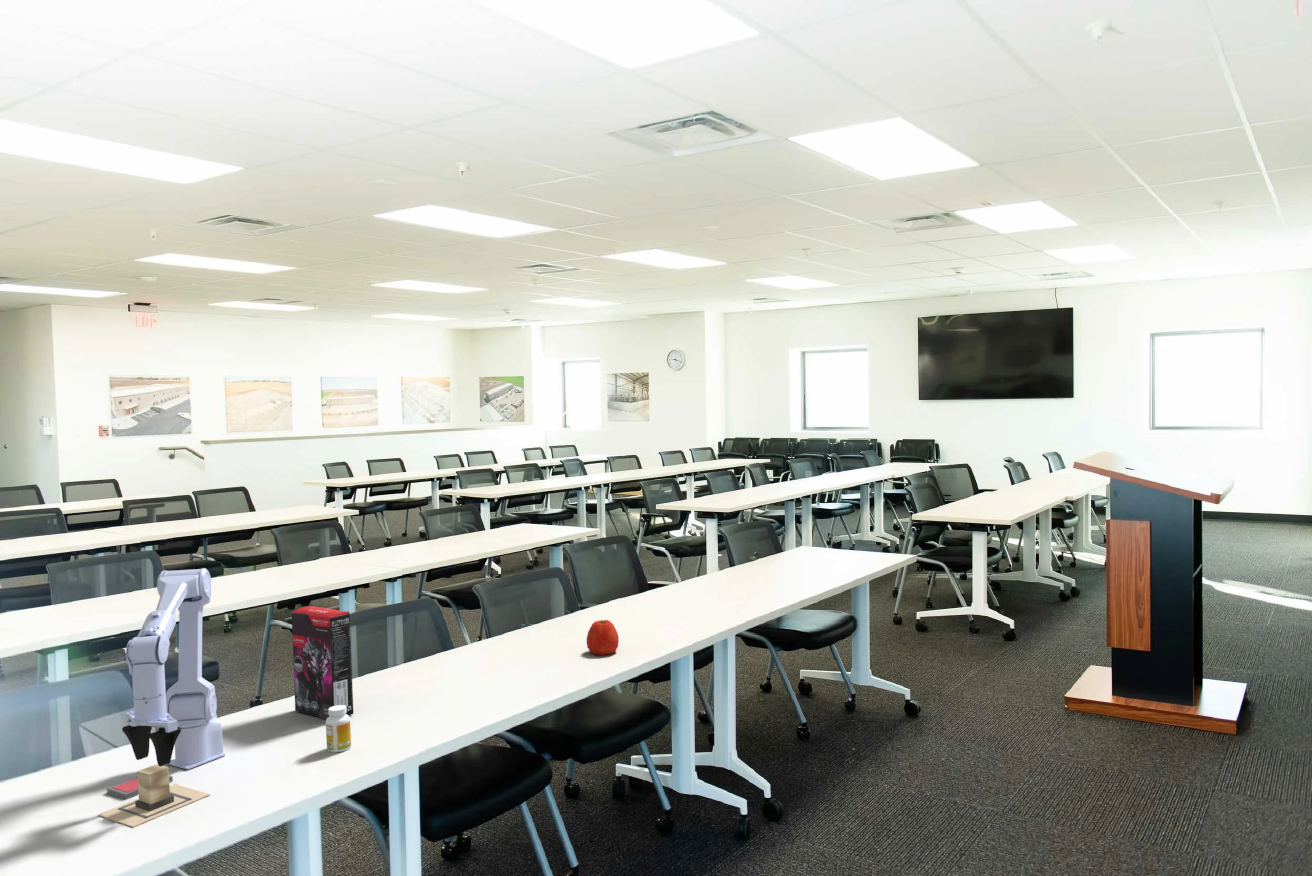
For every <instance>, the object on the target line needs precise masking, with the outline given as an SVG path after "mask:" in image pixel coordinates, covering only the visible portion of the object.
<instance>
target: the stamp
mask: <svg viewBox="0 0 1312 876" xmlns="http://www.w3.org/2000/svg"><path fill="white" fill-rule="evenodd" d="M169 776H170V772H169V767H168V766H166V765H164V766H159V765H158V763H156V764H153V765H151V766H148V767H146V768H142V769H139V770H137V777H138V789H139V794H138V799H139V800H136V799H135V800H136V801H135V807H138V808H141V809H144V810H147V811H153V810H155V809H158V808H160V807H163V806H165V805H167V804H170V803H172V802H174V796H172V795H170V787H169V786H170V782H169Z"/></svg>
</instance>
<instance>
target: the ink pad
mask: <svg viewBox="0 0 1312 876" xmlns="http://www.w3.org/2000/svg"><path fill="white" fill-rule="evenodd" d="M173 781H174V780H173V776H172V775H169V783H171V782H173ZM106 793H107V794H108V795H113V796H115V797H118V798H121V799H124V800H128V799H130V798H131V799H132V798H133V797H136V796H139V789H138V776H137V777H133V778H132V779H128V780H126V781H123V782H120V783H118V784H115V785H112V786H110V787H107V788H106Z"/></svg>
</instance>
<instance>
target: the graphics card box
mask: <svg viewBox="0 0 1312 876" xmlns="http://www.w3.org/2000/svg"><path fill="white" fill-rule="evenodd" d="M350 615H351V613H350V611H349V610H348V611H346V610H338V609H331V608H326V607H320V606H313V605H309V606H302V607H299V608H297V609H295V610H292V611H291V630H292V631H291V632H292V634H291V635H292V656H293V660H292V661H293V681H294V682H293V683H294V709H295V710H294V711H295V712H299V713H302V714H307V715H309V716H310V715H311V716H315V717H319V718H322V719H325V720H326V719H327V718H328V717H330V716H329V714H328V709H329V708H330V707H333V706H337V705H344V706H346V710H347V711H346V715H348V716H349V717H350V716H351V715H354V694H353V668H352V666H353V665H352V664H353V663H352V641H351V640H352V639H351V620H350V619H351V617H350Z"/></svg>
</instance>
